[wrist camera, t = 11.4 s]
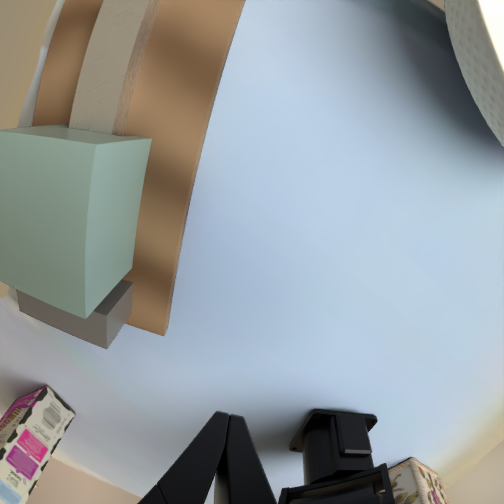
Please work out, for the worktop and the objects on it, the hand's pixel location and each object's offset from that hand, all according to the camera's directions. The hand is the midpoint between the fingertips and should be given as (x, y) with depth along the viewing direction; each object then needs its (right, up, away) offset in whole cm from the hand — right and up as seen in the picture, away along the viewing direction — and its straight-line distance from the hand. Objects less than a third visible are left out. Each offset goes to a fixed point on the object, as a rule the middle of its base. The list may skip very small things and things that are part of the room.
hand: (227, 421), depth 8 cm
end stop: (-10, +3, +12) cm, 16 cm away
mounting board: (-8, +11, +9) cm, 16 cm away
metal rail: (-8, +11, +9) cm, 16 cm away
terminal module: (-9, +9, +9) cm, 15 cm away
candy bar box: (-25, -13, +20) cm, 34 cm away
